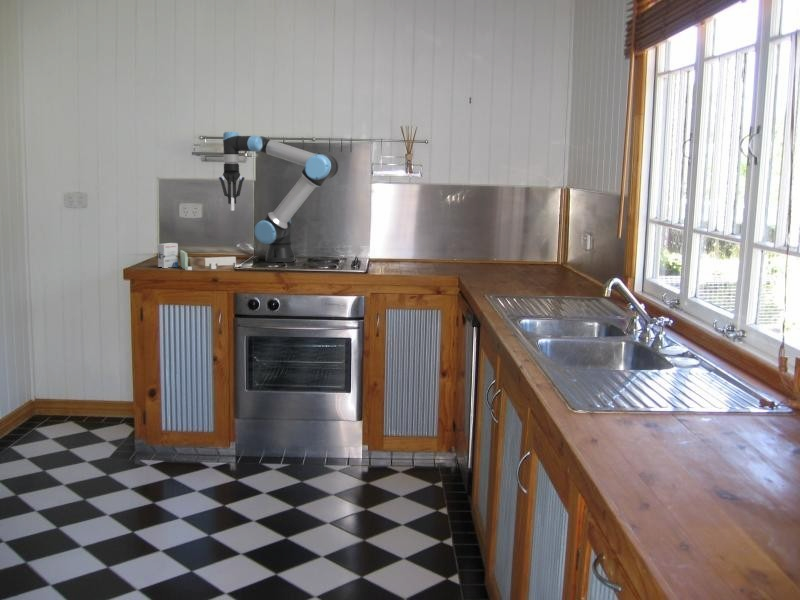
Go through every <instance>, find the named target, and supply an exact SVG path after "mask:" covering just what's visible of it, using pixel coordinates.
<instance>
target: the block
mask: <svg viewBox="0 0 800 600" xmlns="http://www.w3.org/2000/svg"><path fill="white" fill-rule="evenodd" d="M187 257H188V267H191V266H192V265H191V264H193V270H199V269H200V270H202V269H204V268H205V269H206V266H205V258H206V257H203V256H187ZM205 269H204V270H205Z"/></svg>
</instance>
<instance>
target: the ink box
mask: <svg viewBox="0 0 800 600" xmlns="http://www.w3.org/2000/svg"><path fill="white" fill-rule="evenodd" d="M178 244H179V243H178V242H168V243H167V242H165V243H157V267H162V268H168V267H176V268H179V248H178V247H179V245H178ZM162 268H161V269H162ZM168 269H169V268H168Z"/></svg>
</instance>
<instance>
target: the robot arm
mask: <svg viewBox="0 0 800 600" xmlns="http://www.w3.org/2000/svg"><path fill="white" fill-rule="evenodd" d="M222 138H223V139H222V143H223V144H222V147H223V163H224V164H223V174H222V176H219V177H218V180H219V181H220V184H221V188H222V191H223V195H224V197H227V203H228V205H229V210H230V211H232V212H233V211H235V205H236V204H237V198H238V197H240V196H241V191H242V187H243V182H244V181H245V177H244V176H242V175H241V173H240V164H239V163H240V154H239V152H252V153H253V152H259V153H263V154H265V155H269V156H273V157H274V158H275V157H276V158H279V159H282V160H285V161H288V162H290V163H294V164H296V165H299V166H302V167H304V168H302V170H301V177H300V178H299V179H298V180H297V182H296V183H295V184H294V186H293V187H292V188H291V189H290V190H289V192H287V194H286V195H285V197H284V198H283V199H282V200H281V202H280V203H279V204H278V206H277V207H276V208H275V209H274V211H271V212H268V213H267V214H266V216H265V217H264V218H263V220H260V221H259V222H257V223H256V224H255V226H254V230H253V231H254V235H255V238H256V240H257V242H260V243H262V244H264V245H265V244H266V245H268V248H267V251H266V254H265V262H267V263H276V262H283V263H294V262H295V261H296V256H295V253H294V250H293V246H292V218H293V216H294V215H295V214H296V212H298V211H299V208H301V206H302V205H303V204H304V203H305V201H306V200H307V199H308V198H309V197H310V195H311V193H312V192H313V191H314V190H315V189H316V188H320V187H322V185H323V184H324V183H325V181H326V180H327V179H331V178H334V177H335V176H336V175H337V174H338V171H339V163H338V160H337V158H335V157H334V156H333V155H330V154H325V153H320V152H316V153H314V152H311V151H307V150H305V149H301V148H298V147H296V146H295V147H294V146H293V145H292V146H291V145H289V144H285V143H282V142H279V141H276V140H274V139H269V138H268V137H266V136H262V135H261V136H258V135H240V134H239V132H238V131H224V132H223V137H222ZM238 179H239V181H238ZM225 181H226V182H227V183H226V184H227V187H226V184H225ZM237 182H238V185H237ZM293 261H294V262H293Z"/></svg>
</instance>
